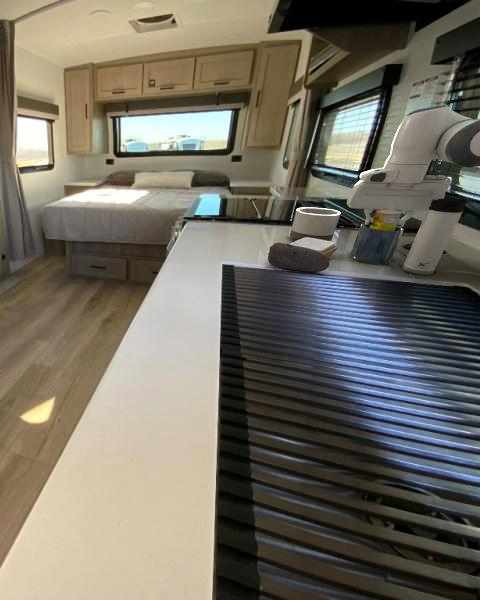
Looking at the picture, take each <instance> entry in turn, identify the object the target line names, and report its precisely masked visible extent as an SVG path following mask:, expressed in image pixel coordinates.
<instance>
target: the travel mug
mask: <svg viewBox="0 0 480 600" xmlns="http://www.w3.org/2000/svg"><path fill="white" fill-rule="evenodd" d="M470 201H471V198H444V199H438V200H435V199H433V200H432V202H431V204H430V205H431V206H430V207H429V209H428V210H427V212H425V215H424V217H423V219H422V222H421V224H420V227H419V229H418V231H417V233H416V235H415V237H414V240H413V242H412V245H411V247H410V249H409V251H408V253H407V256H406V259H405V260H404V263H403V264H402V267H401V268H402V270H403V271H404V272H407V273H409V274H415V275H421V276H431V275H433V274H434V272H435V270H436V268H437V265H438V264H439V262H440V259H441V257H442V255H443V253H444V251H445V249H446V247H447V245H448V243H449V241H450V239H451V237H452V235H453V233H454V231H455V229H456V227H457V224H458V222H459V220H460V218H461V216H462V214H463V212H464V209H465V207H466V205H467V203H469V202H470Z"/></svg>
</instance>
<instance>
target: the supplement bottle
mask: <svg viewBox="0 0 480 600" xmlns="http://www.w3.org/2000/svg"><path fill="white" fill-rule="evenodd" d="M397 205H398V204H397V203H390V205H389V208H388V210H380V209H375V213H374V216H373V217H372V218H373V219H374V222H373V224H372V225H371V226H370V228H372V229H377V230H387V231H395V228H396V226H397V223H398V221H399V219H401V215H402V212H403V211H401V210H395V209H397Z"/></svg>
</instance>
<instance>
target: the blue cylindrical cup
mask: <svg viewBox="0 0 480 600" xmlns="http://www.w3.org/2000/svg"><path fill="white" fill-rule="evenodd" d="M370 226H371V225H366V224H365V222H364V223H361V224H360V227H359V229H358V232H357V234H356V238H355V240H354V243H353V245H352V248H351V252H350V255H349V257H350V259H352V260H354V261H356V262H359V263H364V264H368V265H379V266H383V265H389V264H390V263H391V261H392V259H393V257H394V254H395V251H396V249H397V247H398V244H399V242H400V241H401V237H402V235H403V233H404V230H405V228H403V227H398V226H396V228H395V231H387V230H377V229H372V228H370Z"/></svg>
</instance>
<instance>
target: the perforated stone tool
mask: <svg viewBox="0 0 480 600" xmlns="http://www.w3.org/2000/svg"><path fill="white" fill-rule="evenodd" d="M290 244H291V243H285V242H275V243H273V244H272V245H270V246H269V250H268V253H267V262H268V264H270V265H271V266H273V267H277V268H281V269H286V270H292V271H296V272H297V271H298V272H306V273H320V272H323V271H326V270H327V269H328V268H329V267H330V263H331V262H330V259H329V258H327V257H326V256H325V255H323V254H322V253H320V252H318V251H315V250H312V249H309V248H305V247H301V246H294V245H290Z"/></svg>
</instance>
